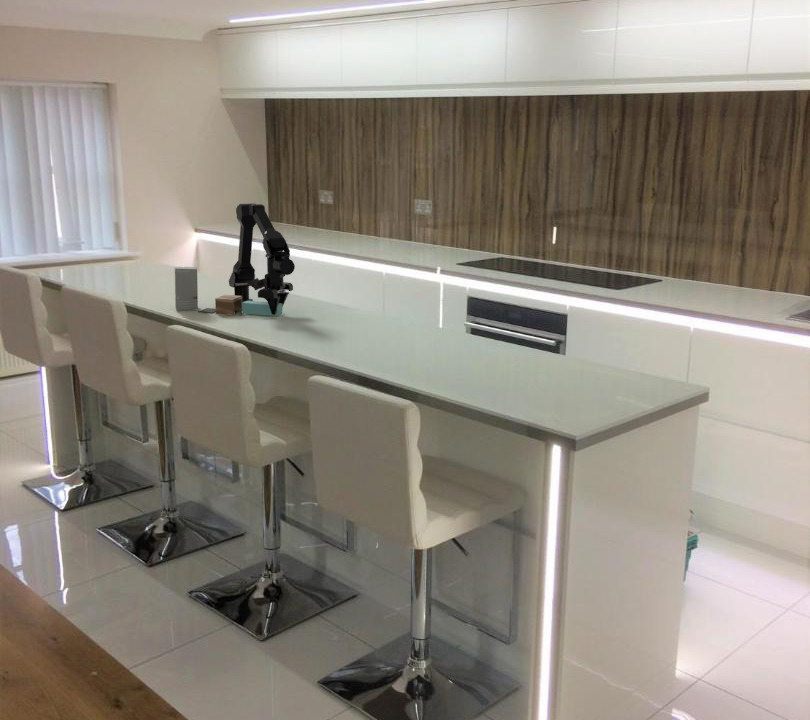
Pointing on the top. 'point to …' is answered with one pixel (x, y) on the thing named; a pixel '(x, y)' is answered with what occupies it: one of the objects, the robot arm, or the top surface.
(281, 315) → the pad
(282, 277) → the robot arm
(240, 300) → the tunnel
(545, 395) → the top surface
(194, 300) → the skincare box
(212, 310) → the mat
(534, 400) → the top surface
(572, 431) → the top surface
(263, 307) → the bar
